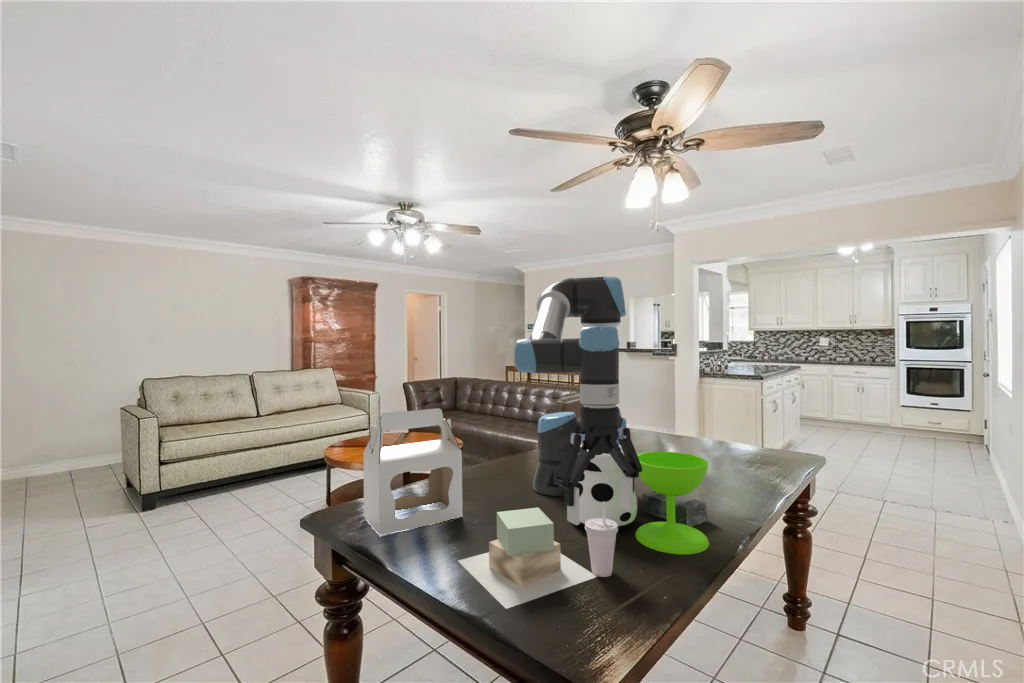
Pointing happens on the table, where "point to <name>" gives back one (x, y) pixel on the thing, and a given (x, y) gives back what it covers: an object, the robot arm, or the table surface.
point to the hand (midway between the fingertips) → (601, 515)
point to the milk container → (603, 492)
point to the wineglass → (672, 500)
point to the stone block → (676, 508)
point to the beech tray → (524, 563)
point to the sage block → (525, 531)
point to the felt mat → (515, 594)
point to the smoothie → (601, 543)
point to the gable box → (412, 457)
